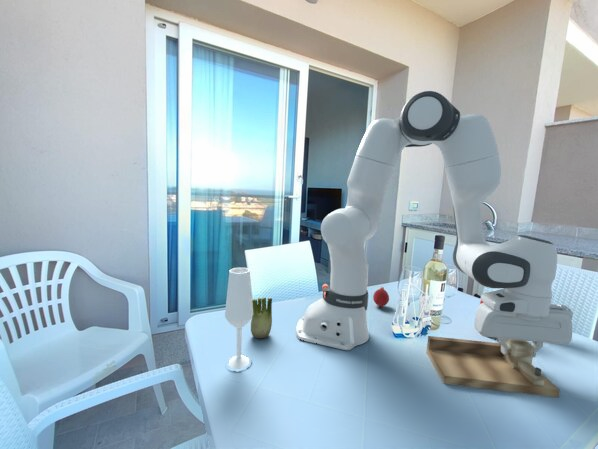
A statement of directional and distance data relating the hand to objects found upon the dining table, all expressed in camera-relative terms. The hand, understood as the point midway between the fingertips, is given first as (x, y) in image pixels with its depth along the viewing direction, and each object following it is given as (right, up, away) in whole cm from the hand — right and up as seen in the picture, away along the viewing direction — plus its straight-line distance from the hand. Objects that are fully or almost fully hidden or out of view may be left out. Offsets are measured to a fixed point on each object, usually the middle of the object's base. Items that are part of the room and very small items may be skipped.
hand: (517, 354), depth 67 cm
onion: (-23, +1, +36) cm, 43 cm away
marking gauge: (0, -3, -2) cm, 4 cm away
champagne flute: (-70, -2, 0) cm, 70 cm away
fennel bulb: (-66, -1, +12) cm, 67 cm away
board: (-8, -4, 0) cm, 9 cm away
